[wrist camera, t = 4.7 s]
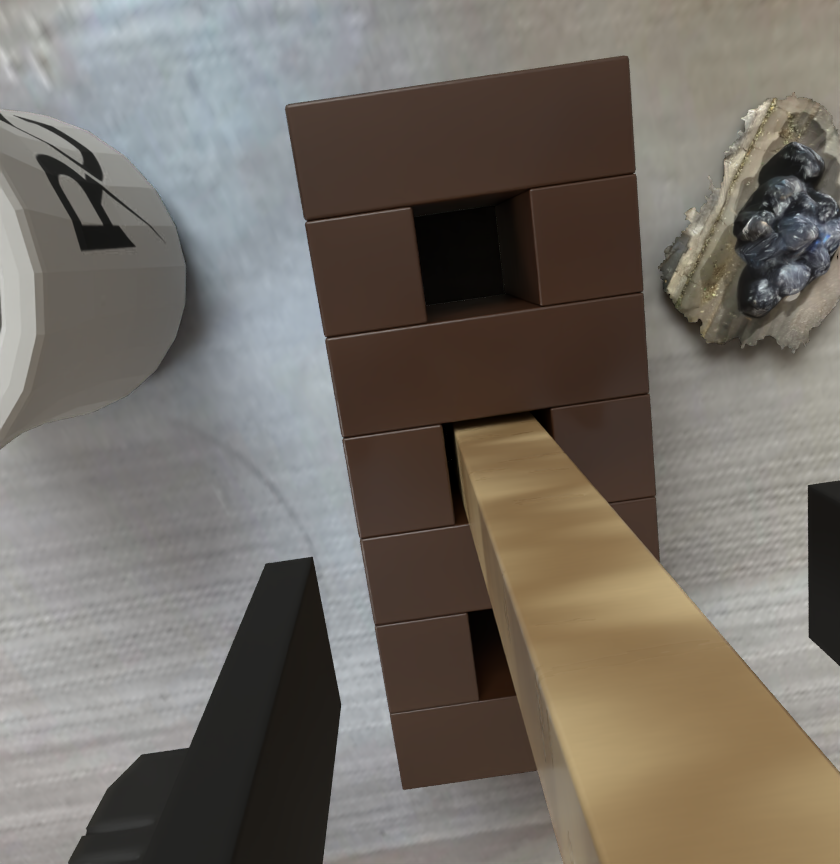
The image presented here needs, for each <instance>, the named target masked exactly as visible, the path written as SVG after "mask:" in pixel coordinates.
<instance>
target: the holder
mask: <svg viewBox="0 0 840 864" xmlns="http://www.w3.org/2000/svg"><path fill="white" fill-rule="evenodd" d="M285 112H286V118H287V123H288V129H289V135H290V141H291V147H292V152H293V158H294V164H295V170H296V175H297V181H298V187H299V193H300V198H301V204H302V210H303V216H304V219H305V220H306V221H307V222H306V223H305V228H306V233H307V239H308V245H309V251H310V257H311V262H312V268H313V274H314V280H315V285H316V291H317V297H318V303H319V308H320V314H321V320H322V326H323V332H324V335H325V337H327V338H326V340H325V343H326V349H327V354H328V360H329V366H330V372H331V378H332V383H333V389H334V395H335V401H336V406H337V412H338V418H339V424H340V429H341V435H342V437H343V440H342V441H343V447H344V453H345V459H346V464H347V470H348V476H349V482H350V488H351V493H352V499H353V505H354V511H355V516H356V522H357V528H358V534H359V537H360V545H361V551H362V556H363V562H364V568H365V574H366V579H367V585H368V591H369V597H370V602H371V608H372V614H373V620H374V623H375V632H376V638H377V644H378V649H379V655H380V661H381V667H382V672H383V678H384V684H385V690H386V696H387V701H388V707H389V712H390V719H391V724H392V730H393V736H394V742H395V748H396V753H397V759H398V765H399V771H400V776H401V782H402V788H403V790H406V789H413V788H420V787H427V786H434V785H441V784H448V783H455V782H462V781H469V780H476V779H482V778H489V777H496V776H503V775H510V774H517V773H524V772H531V771H537V767H536V763H535V760H534V756H533V753H532V749H531V745H530V742H529V738H528V735H527V731H526V727H525V724H524V720H523V717H522V713H521V709H520V706H519V702H518V699H517V695H516V691H515V688H514V684H513V681H512V677H511V673H510V670H509V666H508V663H507V659H506V655H505V652H504V648H503V645H502V641H501V637H500V634H499V630H498V626H497V623H496V619H495V616H494V612H493V608H492V605H491V601H490V598H489V594H488V590H487V587H486V583H485V580H484V576H483V572H482V569H481V565H480V562H479V558H478V554H477V551H476V547H475V544H474V540H473V536H472V533H471V529H470V526H469V522H468V518H467V515H466V511H465V507H464V504H463V500H462V497H461V493H460V489H459V486H458V482H457V479H456V475H455V471H454V468H453V464H452V461H448V462H447V457H446V450H445V442H444V435H443V428H442V423H449V422H456V421H463V420H470V419H477V418H484V417H491V416H498V415H504V414H511V413H518V412H525V411H529V412H530V413H531V414H532V415H533V416H534V417H535V419H536V420H537V421H538V422H539V423H540V424H541V426H542V427H543V428H544V429H545V430H546V431H547V433H548V434H549V435H550V436H551V437H552V438H553V440H554V441H555V442H556V443H557V444H558V445H559V446H560V448H561V449H562V450H563V451H564V452H565V453H566V455H567V456H568V457H569V458H570V459H571V460H572V462H573V463H574V464H575V465H576V466H577V467H578V469H579V470H580V471H581V472H582V473H583V474H584V476H585V477H586V478H587V479H588V480H589V481H590V483H591V484H592V485H593V486H594V487H595V488H596V490H597V491H598V492H599V493H600V494H601V495H602V496H603V498H604V499H605V500H606V501H607V502H608V503H609V505H610V506H611V507H612V508H613V509H614V510H615V512H616V513H617V514H618V515H619V516H620V517H621V519H622V520H623V521H624V522H625V523H626V524H627V526H628V527H629V528H630V529H631V530H632V531H633V533H634V534H635V535H636V536H637V537H638V538H639V540H640V541H641V542H642V543H643V544H644V545H645V547H646V548H647V549H648V550H649V551H650V552H651V553H652V555H653V556H654V557H655V558H656V559H657V560H658V562H659V563H660V557H659V541H658V525H657V508H656V498H655V496H656V486H655V469H654V453H653V436H652V420H651V404H650V395H649V394H648V393H649V377H648V360H647V344H646V328H645V311H644V295H643V293H641V292H642V291H643V275H642V258H641V242H640V226H639V209H638V193H637V177H636V174H633V173H635V170H636V166H635V150H634V134H633V117H632V101H631V85H630V69H629V58H628V56H618V57H611V58H604V59H597V60H590V61H583V62H576V63H569V64H562V65H556V66H549V67H542V68H535V69H528V70H521V71H514V72H507V73H500V74H493V75H487V76H480V77H473V78H466V79H459V80H452V81H445V82H438V83H431V84H424V85H417V86H411V87H404V88H397V89H390V90H383V91H376V92H369V93H362V94H355V95H348V96H342V97H335V98H328V99H321V100H314V101H307V102H300V103H293V104H288V105H286V107H285ZM494 205H496V206H495V213H496V222H497V231H498V241H499V250H500V259H501V268H502V277H503V286H504V293H506V294H501V295H494V296H487V297H480V298H473V299H466V300H459V301H452V302H446V303H439V304H432V305H426V303H425V296H424V288H423V281H422V274H421V266H420V259H419V252H418V245H417V237H416V230H415V223H414V217H418V216H425V215H432V214H439V213H446V212H453V211H460V210H467V209H473V208H480V207H487V206H494Z"/></svg>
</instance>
